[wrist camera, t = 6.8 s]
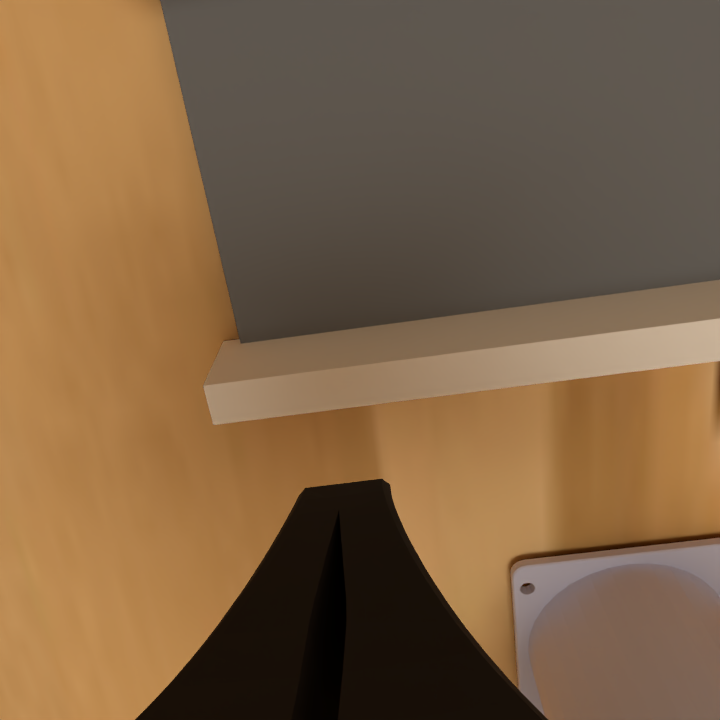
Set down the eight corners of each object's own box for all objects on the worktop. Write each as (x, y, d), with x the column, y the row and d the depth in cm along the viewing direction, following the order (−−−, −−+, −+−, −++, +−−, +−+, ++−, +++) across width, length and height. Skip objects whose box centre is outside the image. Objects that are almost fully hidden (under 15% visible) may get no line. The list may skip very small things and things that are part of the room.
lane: (1126, 259, 20) (1249, 293, 17) (232, 376, 21) (213, 425, 19) (1299, -262, 15) (1510, -332, 12) (124, -64, 16) (77, -85, 14)
